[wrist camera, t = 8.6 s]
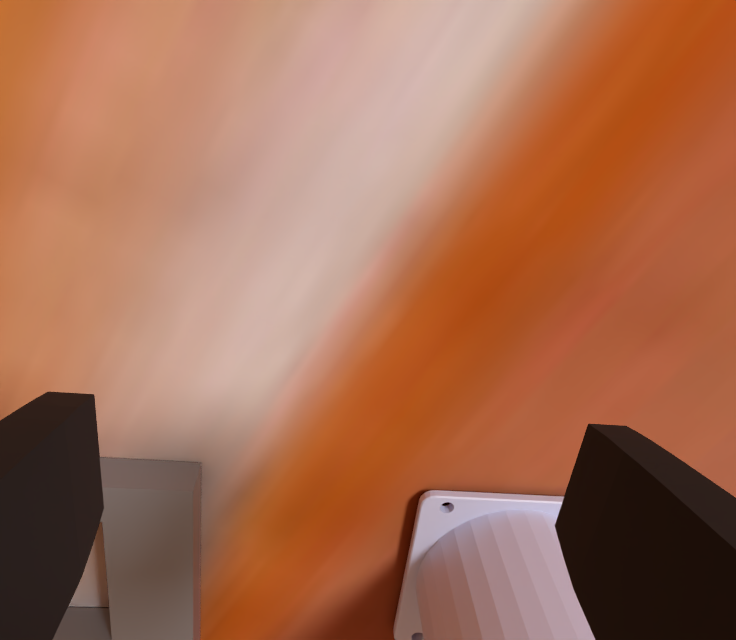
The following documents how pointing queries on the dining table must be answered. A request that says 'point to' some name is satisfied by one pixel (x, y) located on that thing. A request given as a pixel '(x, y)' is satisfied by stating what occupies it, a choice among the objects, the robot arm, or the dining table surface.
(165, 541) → the grey board with holes
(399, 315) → the dining table surface
